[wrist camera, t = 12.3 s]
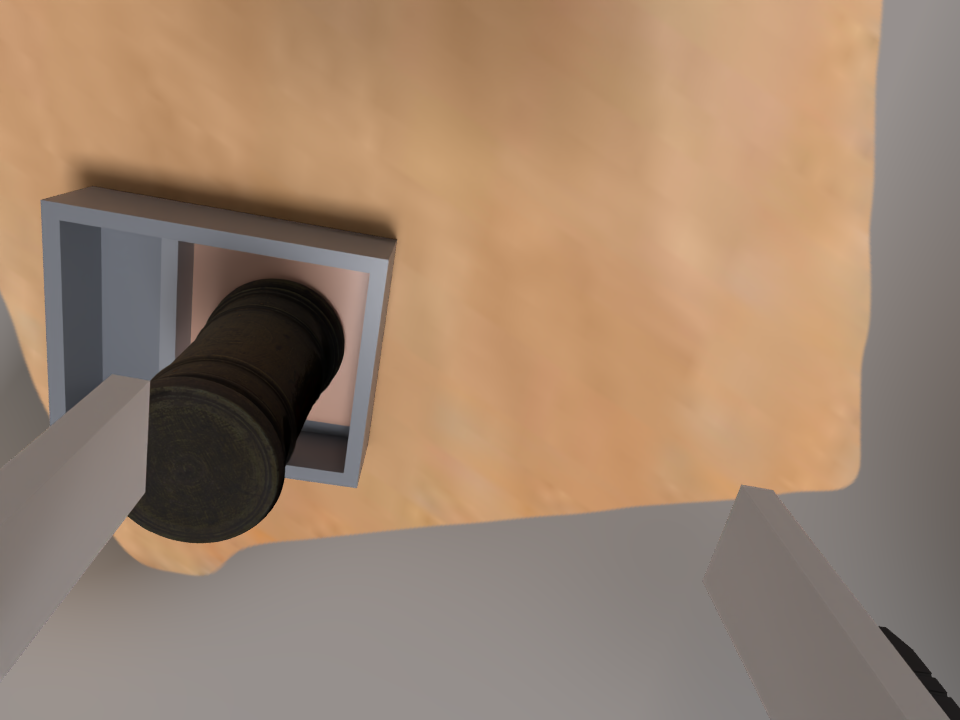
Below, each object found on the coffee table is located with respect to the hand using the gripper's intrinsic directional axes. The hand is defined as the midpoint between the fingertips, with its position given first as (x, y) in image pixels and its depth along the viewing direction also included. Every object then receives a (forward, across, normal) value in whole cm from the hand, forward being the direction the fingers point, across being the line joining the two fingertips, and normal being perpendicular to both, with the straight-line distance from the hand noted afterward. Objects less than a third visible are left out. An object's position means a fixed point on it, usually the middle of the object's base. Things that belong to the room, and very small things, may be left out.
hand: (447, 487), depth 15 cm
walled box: (+34, -13, -11) cm, 38 cm away
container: (+33, -10, -11) cm, 36 cm away
